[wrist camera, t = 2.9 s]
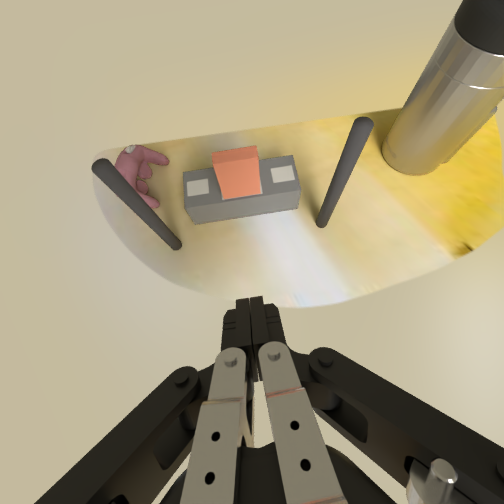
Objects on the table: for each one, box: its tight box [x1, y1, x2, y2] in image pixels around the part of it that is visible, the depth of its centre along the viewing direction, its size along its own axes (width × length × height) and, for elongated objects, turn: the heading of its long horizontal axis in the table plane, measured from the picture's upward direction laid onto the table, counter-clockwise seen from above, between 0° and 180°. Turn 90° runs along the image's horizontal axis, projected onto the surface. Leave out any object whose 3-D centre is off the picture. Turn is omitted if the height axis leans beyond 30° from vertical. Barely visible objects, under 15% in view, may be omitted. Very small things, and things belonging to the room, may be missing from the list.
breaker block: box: [183, 155, 301, 225], centre depth 37 cm, size 16×6×5 cm, turn 98°
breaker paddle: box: [212, 146, 261, 199], centre depth 31 cm, size 5×2×7 cm, turn 98°
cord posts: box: [92, 117, 374, 250], centre depth 29 cm, size 24×2×18 cm, turn 98°
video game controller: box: [115, 145, 169, 208], centre depth 40 cm, size 10×5×7 cm, turn 176°
